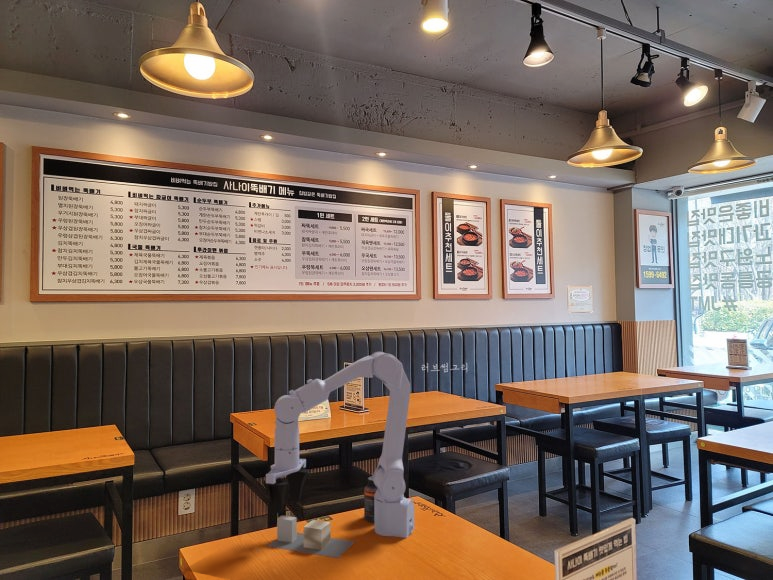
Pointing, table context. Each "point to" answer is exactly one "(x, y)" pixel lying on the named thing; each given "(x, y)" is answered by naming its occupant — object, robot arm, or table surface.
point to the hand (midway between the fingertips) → (286, 506)
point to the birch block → (317, 534)
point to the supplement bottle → (369, 500)
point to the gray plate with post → (295, 541)
